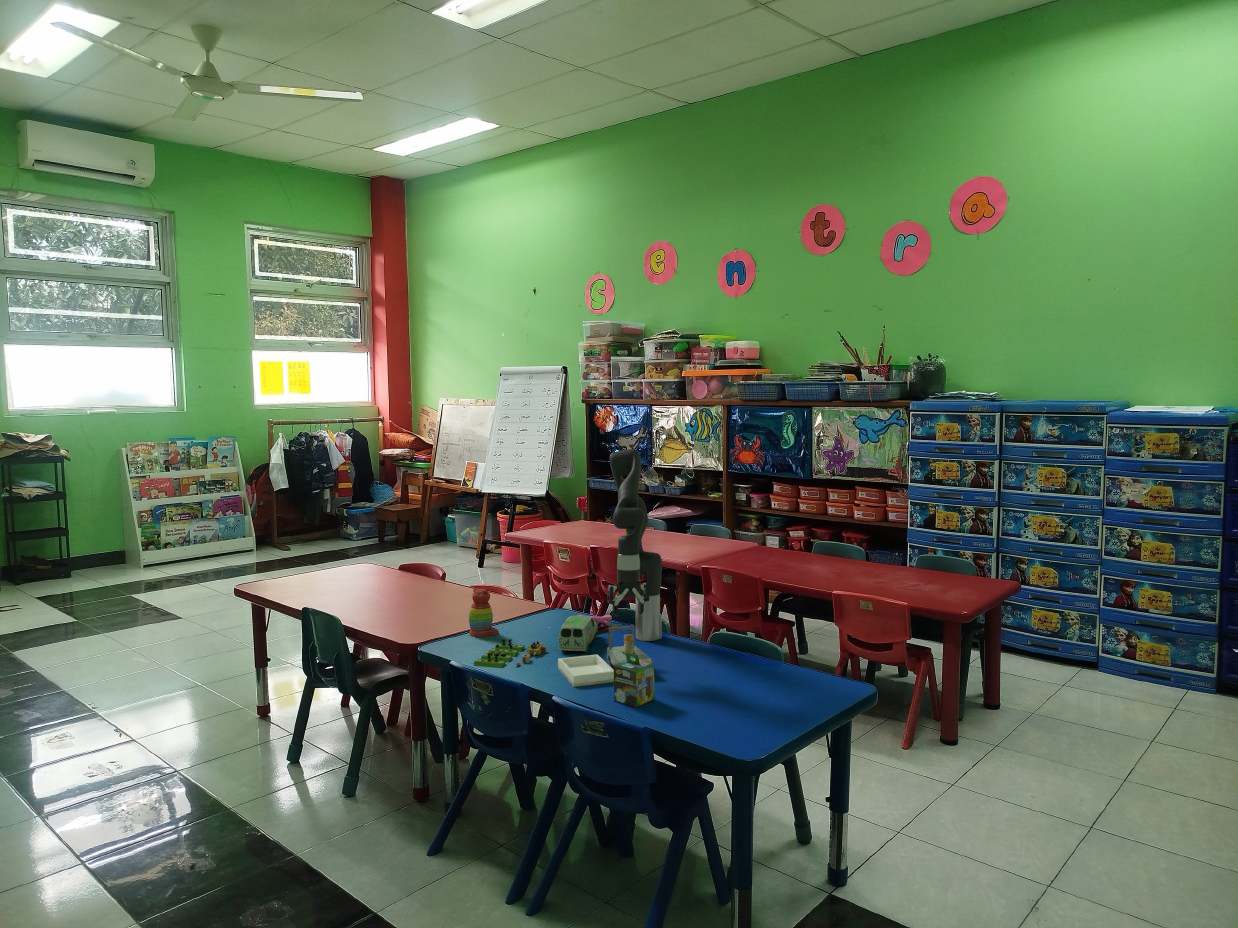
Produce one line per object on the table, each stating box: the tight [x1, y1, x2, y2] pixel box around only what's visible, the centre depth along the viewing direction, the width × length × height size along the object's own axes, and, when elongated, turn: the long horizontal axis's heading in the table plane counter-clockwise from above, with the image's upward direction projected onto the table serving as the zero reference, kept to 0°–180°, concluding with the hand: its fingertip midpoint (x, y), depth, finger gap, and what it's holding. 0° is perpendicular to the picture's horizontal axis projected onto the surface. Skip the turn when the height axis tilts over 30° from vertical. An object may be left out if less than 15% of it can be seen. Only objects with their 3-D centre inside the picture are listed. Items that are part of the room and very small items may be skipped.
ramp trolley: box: [606, 624, 652, 668], centre depth 279 cm, size 10×16×13 cm, turn 19°
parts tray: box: [557, 654, 614, 688], centre depth 274 cm, size 14×19×4 cm
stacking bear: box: [468, 587, 499, 638], centre depth 324 cm, size 11×10×18 cm
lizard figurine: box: [576, 614, 622, 636], centre depth 331 cm, size 15×20×7 cm
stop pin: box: [623, 633, 633, 655], centre depth 279 cm, size 3×3×12 cm
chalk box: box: [613, 652, 656, 708], centre depth 251 cm, size 9×9×15 cm
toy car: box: [557, 615, 597, 653], centre depth 309 cm, size 11×25×10 cm, turn 172°
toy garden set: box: [473, 638, 547, 669], centre depth 294 cm, size 23×19×5 cm
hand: (628, 614), depth 278 cm, fingers open, 8 cm apart
